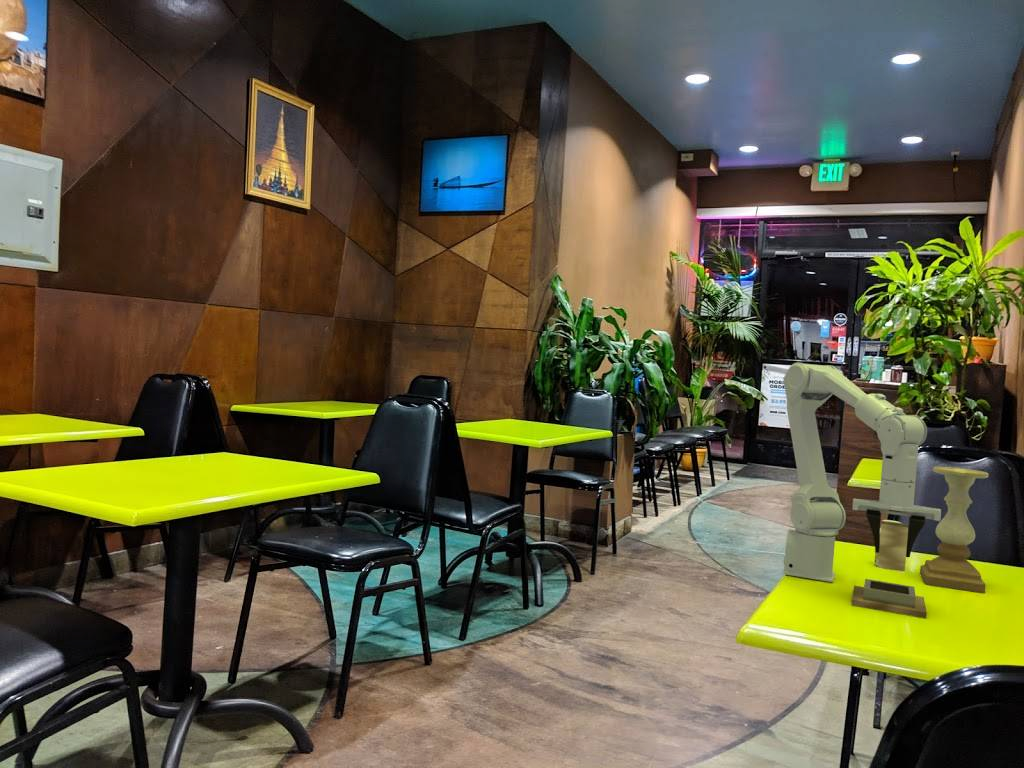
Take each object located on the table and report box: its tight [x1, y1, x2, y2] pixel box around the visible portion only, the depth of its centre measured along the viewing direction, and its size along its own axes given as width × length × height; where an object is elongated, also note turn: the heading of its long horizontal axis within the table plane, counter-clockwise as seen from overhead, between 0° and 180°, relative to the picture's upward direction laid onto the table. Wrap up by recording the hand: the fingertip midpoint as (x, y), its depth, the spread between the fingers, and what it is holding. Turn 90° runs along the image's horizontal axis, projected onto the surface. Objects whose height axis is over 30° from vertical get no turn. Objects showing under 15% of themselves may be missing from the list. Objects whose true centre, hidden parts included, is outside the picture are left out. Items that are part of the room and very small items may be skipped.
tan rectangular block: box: [877, 520, 909, 573], centre depth 145 cm, size 4×4×8 cm
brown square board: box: [851, 585, 928, 619], centre depth 145 cm, size 12×12×1 cm
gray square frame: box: [863, 578, 917, 608], centre depth 145 cm, size 8×8×2 cm
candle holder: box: [919, 466, 989, 594], centre depth 165 cm, size 11×11×24 cm
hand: (892, 554), depth 145 cm, fingers closed on tan rectangular block, 4 cm apart
